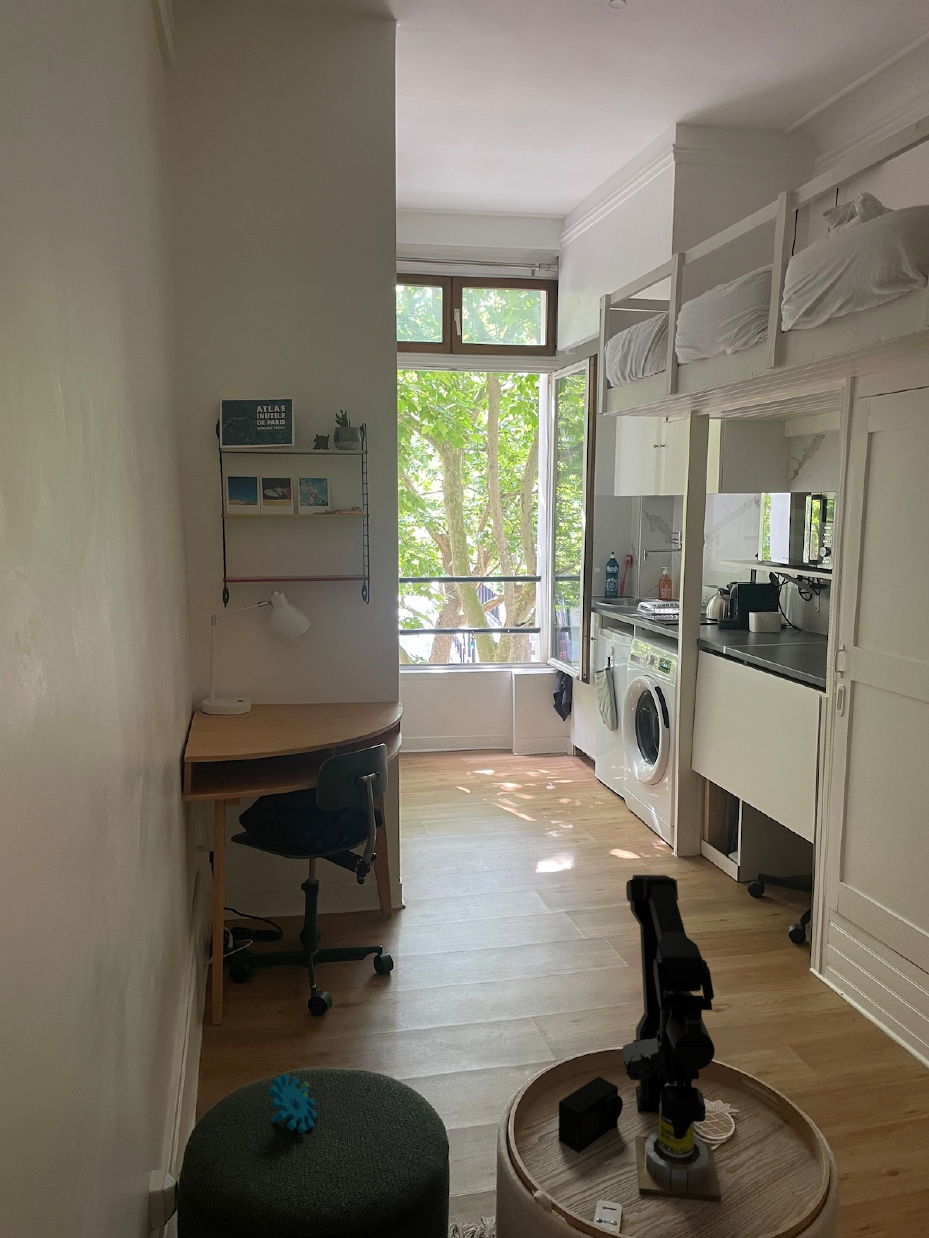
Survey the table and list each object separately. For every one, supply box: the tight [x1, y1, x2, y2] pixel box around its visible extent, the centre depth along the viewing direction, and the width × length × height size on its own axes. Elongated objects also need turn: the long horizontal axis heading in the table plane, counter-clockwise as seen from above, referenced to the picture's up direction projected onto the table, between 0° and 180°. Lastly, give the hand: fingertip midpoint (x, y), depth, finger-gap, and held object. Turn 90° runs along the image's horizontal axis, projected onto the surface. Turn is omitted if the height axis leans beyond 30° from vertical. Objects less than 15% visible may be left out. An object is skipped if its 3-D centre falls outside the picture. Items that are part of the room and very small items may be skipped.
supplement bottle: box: [658, 1081, 696, 1158], centre depth 140 cm, size 5×5×10 cm
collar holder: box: [634, 1130, 722, 1203], centre depth 141 cm, size 12×12×4 cm
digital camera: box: [558, 1076, 624, 1154], centre depth 149 cm, size 10×5×7 cm, turn 133°
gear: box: [268, 1073, 318, 1134], centre depth 153 cm, size 11×6×10 cm
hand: (676, 1125), depth 141 cm, fingers closed on supplement bottle, 5 cm apart
